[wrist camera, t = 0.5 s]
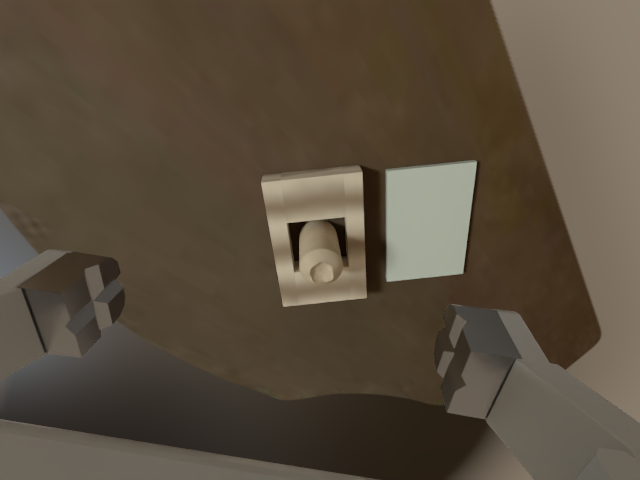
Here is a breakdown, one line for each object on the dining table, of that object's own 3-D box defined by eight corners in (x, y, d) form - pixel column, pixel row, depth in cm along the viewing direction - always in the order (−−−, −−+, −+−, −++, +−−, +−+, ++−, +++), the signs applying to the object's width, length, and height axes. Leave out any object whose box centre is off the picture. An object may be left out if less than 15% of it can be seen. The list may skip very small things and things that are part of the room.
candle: (344, 231, 52) (353, 269, 44) (321, 257, 54) (326, 299, 46) (314, 211, 50) (317, 247, 42) (291, 239, 52) (290, 278, 44)
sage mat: (385, 169, 48) (387, 171, 47) (474, 160, 48) (477, 161, 47) (385, 278, 57) (387, 281, 56) (460, 270, 57) (463, 273, 56)
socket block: (263, 174, 47) (261, 182, 45) (358, 164, 48) (362, 171, 45) (284, 294, 57) (283, 306, 55) (363, 286, 57) (366, 297, 55)
